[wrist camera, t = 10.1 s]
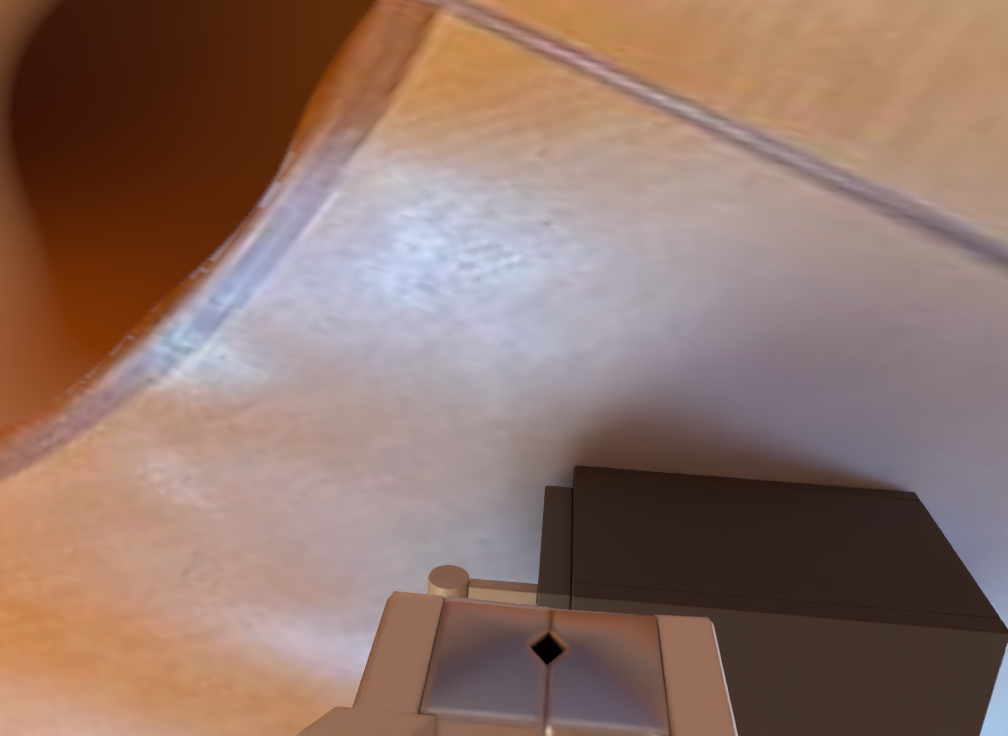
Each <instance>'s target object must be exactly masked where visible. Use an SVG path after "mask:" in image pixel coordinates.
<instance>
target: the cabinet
mask: <svg viewBox="0 0 1008 736" xmlns="http://www.w3.org/2000/svg"><path fill="white" fill-rule="evenodd" d="M570 610H581V611H594V612H608V613H621V614H634V615H647V616H655V615H673V616H691V617H708V618H709V620H710V621H711V622H712V623H713V624H714V629H715V633H716V638H717V643H718V647H719V652H720V656H721V661H722V665H723V670H724V674H725V679H726V683H727V688H728V692H729V697H730V702H731V706H732V711H733V715H734V720H735V724H736V729H737V733H738V736H980V733H981V730H982V726H983V723H984V720H985V716H986V713H987V710H988V707H989V703H990V700H991V697H992V694H993V690H994V687H995V684H996V680H997V677H998V674H999V671H1000V667H1001V664H1002V661H1003V657H1004V654H1005V651H1006V648H1007V644H1008V629H1007V627H1006V626H1005V624H1004V623H1003V621H1002V620H1001V619H1000V617H999V615H998V614H997V612H996V611H995V609H994V608H993V606H992V605H991V603H990V602H989V601H988V599H987V598H986V596H985V595H984V593H983V592H982V590H981V589H980V587H979V586H978V584H977V583H976V581H975V580H974V578H973V577H972V575H971V574H970V572H969V571H968V570H967V568H966V567H965V565H964V564H963V562H962V561H961V559H960V558H959V556H958V555H957V553H956V552H955V550H954V549H953V547H952V546H951V544H950V543H949V541H948V540H947V539H946V537H945V536H944V534H943V533H942V531H941V530H940V528H939V527H938V525H937V524H936V522H935V521H934V519H933V518H932V516H931V515H930V513H929V512H928V510H927V509H926V508H925V506H924V505H923V503H922V502H921V501H920V499H919V498H918V496H917V495H916V493H914V492H902V491H889V490H876V489H863V488H851V487H838V486H825V485H813V484H800V483H787V482H774V481H762V480H749V479H736V478H723V477H711V476H698V475H685V474H672V473H660V472H647V471H634V470H622V469H609V468H596V467H583V466H575V468H574V477H573V533H572V596H571V608H570Z"/></svg>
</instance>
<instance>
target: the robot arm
mask: <svg viewBox="0 0 1008 736" xmlns="http://www.w3.org/2000/svg"><path fill="white" fill-rule="evenodd" d="M296 736H738V733H737V729H736V724H735V720H734V715H733V711H732V706H731V702H730V697H729V692H728V688H727V683H726V679H725V674H724V670H723V665H722V661H721V656H720V652H719V647H718V643H717V638H716V633H715V629H714V624H713V623H712V622H711V621H710V620H709V618H708V617H691V616H673V615H655V616H647V615H634V614H621V613H608V612H594V611H581V610H568V609H555V608H550V607H545V606H536V605H527V604H517V603H508V602H499V601H489V600H480V599H471V598H461V597H452V596H447V597H446V598H445V597H444V596H442V595H431V594H419V593H408V592H396V591H394V592H393V594H392V595H391V596H390V597H389V598H388V599H387V602H386V605H385V608H384V611H383V614H382V618H381V621H380V624H379V627H378V630H377V633H376V636H375V639H374V642H373V645H372V648H371V652H370V655H369V658H368V661H367V664H366V667H365V670H364V673H363V676H362V679H361V682H360V685H359V689H358V692H357V695H356V698H355V701H354V704H353V707H352V708H347V707H335V708H334V709H332V710H331V711H329V712H328V713H327V714H325V715H324V716H322V717H321V718H320V719H318V720H317V721H315V722H314V723H312V724H311V725H310V726H308V727H307V728H305V729H304V730H303V731H301V732H300V733H298V734H297V735H296Z"/></svg>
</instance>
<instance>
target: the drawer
mask: <svg viewBox="0 0 1008 736" xmlns="http://www.w3.org/2000/svg"><path fill="white" fill-rule="evenodd" d="M572 533H573V488H570V487H557V486H546V487H545V497H544V511H543V524H542V538H541V552H540V565H539V579H538V585H537V584H528V583H516V582H505V581H493V580H481V579H470V581H469V575H468V573H467V572H466V571H465V570H464V569H463V568H461V567H458V566H453V565H444V566H439V567H437V568H435V569H433V570H432V571H431V572H430V574H429V576H428V594H431V595H442V596H444V597H445V598H446V597H447V596H452V597H461V598H471V599H480V600H489V601H499V602H509V603H521V604H532V605H536V604H537V606H545V607H550V608H555V609H568V610H570V608H571V596H572Z"/></svg>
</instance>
